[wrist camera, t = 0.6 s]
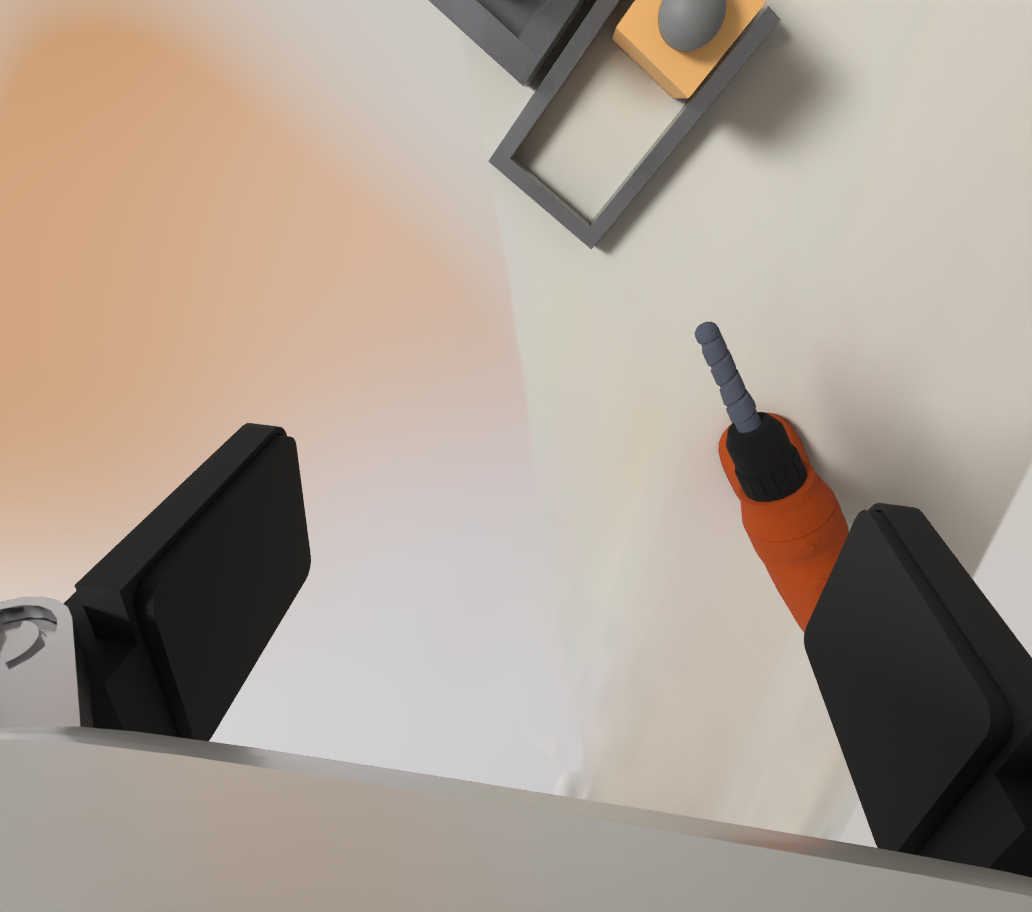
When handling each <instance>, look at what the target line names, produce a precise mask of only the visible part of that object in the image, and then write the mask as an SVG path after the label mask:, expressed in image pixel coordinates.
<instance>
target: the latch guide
mask: <svg viewBox="0 0 1032 912" xmlns="http://www.w3.org/2000/svg"><path fill="white" fill-rule="evenodd" d="M619 2H620V0H597V1H596V2H595V4H594V5H593V7H592V8H591V10H590V11H589V13H588V14H587V16H586V17H585V19H584V20H583V22H582V23H581V25H580V26H579V28H578V29H577V31H576V32H575V34H574V35H573V37H572V38H571V39H570V41H569V42H568V44H567V45H566V47H565V48H564V50H563V51H562V53H561V54H560V56H559V57H558V59H557V60H556V62H555V63H554V65H553V66H552V68H551V69H550V71H549V72H548V74H547V75H546V77H545V78H544V80H543V81H542V83H541V84H540V86H539V87H538V88H537V90H536V91H535V93H534V94H533V96H532V97H531V99H530V100H529V102H528V103H527V105H526V106H525V108H524V109H523V111H522V112H521V114H520V115H519V117H518V118H517V120H516V121H515V123H514V124H513V126H512V127H511V129H510V130H509V132H508V133H507V134H506V136H505V137H504V139H503V140H502V142H501V143H500V145H499V146H498V148H497V149H496V151H495V152H494V154H493V155H492V157H491V158H490V160H489V162H490V163H491V164H492V165H493V166H494V167H496V168H497V169H498V170H499V171H500V172H501V173H503V174H504V175H505V176H506V177H507V178H508V179H510V180H511V181H512V182H513V183H514V184H516V185H517V186H518V187H519V188H520V189H521V190H523V191H524V192H525V193H526V194H527V195H528V196H530V197H531V198H532V199H533V200H534V201H535V202H537V203H538V204H539V205H540V206H541V207H542V208H544V209H545V210H546V211H547V212H548V213H549V214H551V215H552V216H553V217H554V218H555V219H556V220H558V221H559V222H560V223H561V224H562V225H563V226H565V227H566V228H567V229H568V230H569V231H571V232H572V233H573V234H574V235H575V236H576V237H578V238H579V239H580V240H581V241H582V242H583V243H585V244H586V245H587V246H588V247H589V248H590V249H592V248H593V247H594V245H595V244H596V243H597V242H598V241H599V239H600V238H601V237H602V236H603V234H604V233H605V232H606V231H607V230H608V228H609V227H610V226H611V225H612V224H613V222H614V221H615V220H616V219H617V217H618V216H619V215H620V214H621V213H622V211H623V210H624V209H625V208H626V207H627V205H628V204H629V203H630V202H631V200H632V199H633V198H634V197H635V196H636V194H637V193H638V192H639V191H640V190H641V188H642V187H643V186H644V185H645V183H646V182H647V181H648V180H649V179H650V177H651V176H652V175H653V174H654V173H655V171H656V170H657V169H658V168H659V166H660V165H661V164H662V163H663V162H664V160H665V159H666V158H667V157H668V156H669V154H670V153H671V152H672V151H673V149H674V148H675V147H676V146H677V145H678V143H679V142H680V141H681V140H682V139H683V137H684V136H685V135H686V134H687V132H688V131H689V130H690V129H691V128H692V126H693V125H694V124H695V123H696V122H697V120H698V119H699V118H700V117H701V115H702V114H703V113H704V112H705V111H706V109H707V108H708V107H709V106H710V105H711V103H712V102H713V101H714V100H715V98H716V97H717V96H718V95H719V94H720V92H721V91H722V90H723V89H724V88H725V86H726V85H727V84H728V83H729V81H730V80H731V79H732V78H733V77H734V75H735V74H736V73H737V72H738V71H739V69H740V68H741V67H742V66H743V64H744V63H745V62H746V61H747V60H748V58H749V57H750V56H751V55H752V54H753V52H754V51H755V50H756V49H757V47H758V46H759V45H760V44H761V43H762V41H763V40H764V39H765V38H766V37H767V35H768V34H769V33H770V32H771V30H772V29H773V28H774V27H775V26H776V24H777V23H778V22H779V21H780V20H781V19H780V18H779V17H778V16H777V15H776V14H775V13H774V12H773V11H772V10H771V8H770V7H769V6H768V7H766V8H764V9H762V10H761V11H760V12H759V14H758V15H757V16H756V17H755V19H754V20H753V21H752V22H751V24H750V25H749V26H748V27H747V29H746V30H745V31H744V32H743V34H742V35H741V36H740V37H739V39H738V40H737V41H736V42H735V44H734V45H733V46H732V47H731V49H730V50H729V51H728V52H727V54H726V55H725V56H724V57H723V59H722V60H721V61H720V62H719V63H718V65H717V66H716V67H715V68H714V70H713V71H712V72H711V73H710V75H709V76H708V77H707V78H706V80H705V81H704V82H703V83H702V85H701V86H700V87H699V88H698V90H697V91H696V92H695V93H694V95H693V96H692V97H691V98H690V100H689V101H688V102H687V103H686V105H685V106H684V107H683V108H682V110H681V111H680V112H679V113H678V115H677V116H676V117H675V118H674V120H673V121H672V122H671V123H670V125H669V126H668V127H667V128H666V129H665V131H664V132H663V133H662V134H661V136H660V137H659V138H658V139H657V141H656V142H655V143H654V144H653V146H652V147H651V148H650V149H649V151H648V152H647V153H646V154H645V156H644V157H643V158H642V159H641V161H640V162H639V163H638V164H637V166H636V167H635V168H634V169H633V171H632V172H631V173H630V174H629V176H628V177H627V178H626V179H625V181H624V182H623V183H622V184H621V186H620V187H619V188H618V189H617V190H616V192H615V193H614V194H613V195H612V197H611V198H610V199H609V200H608V202H607V203H606V204H605V205H604V207H603V208H602V209H601V210H600V212H599V213H598V214H597V215H596V217H595V218H594V219H593V220H592V222H591V223H589V222H588V221H586V220H585V219H584V218H583V217H582V216H581V215H580V214H578V213H577V212H576V211H575V210H574V209H573V208H571V207H570V206H569V205H568V204H567V203H566V202H565V201H563V200H562V199H561V198H560V197H559V196H558V195H556V194H555V193H554V192H553V191H552V190H551V189H550V188H548V187H547V186H546V185H545V184H544V183H543V182H541V181H540V180H539V179H538V178H537V177H536V176H535V175H533V174H532V173H531V172H530V171H529V170H528V169H526V168H525V167H524V166H523V165H522V164H521V163H520V162H518V161H517V160H516V159H515V158H514V157H513V155H514V154H515V152H516V151H517V149H518V148H519V146H520V145H521V144H522V142H523V141H524V139H525V138H526V136H527V135H528V133H529V132H530V131H531V129H532V128H533V126H534V125H535V123H536V122H537V120H538V119H539V118H540V116H541V115H542V113H543V112H544V110H545V109H546V107H547V106H548V105H549V103H550V102H551V100H552V99H553V97H554V96H555V94H556V93H557V92H558V90H559V89H560V87H561V86H562V84H563V83H564V81H565V80H566V79H567V77H568V76H569V74H570V73H571V71H572V70H573V68H574V67H575V66H576V64H577V63H578V61H579V60H580V58H581V57H582V55H583V54H584V52H585V51H586V50H587V48H588V47H589V45H590V44H591V42H592V41H593V39H594V38H595V37H596V35H597V34H598V32H599V31H600V29H601V28H602V26H603V25H604V24H605V22H606V21H607V19H608V18H609V16H610V15H611V13H612V12H613V11H614V9H615V8H616V6H617V5H618V3H619Z"/></svg>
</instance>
